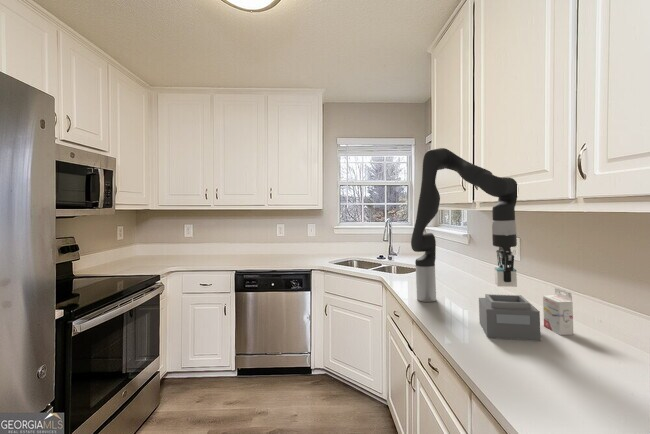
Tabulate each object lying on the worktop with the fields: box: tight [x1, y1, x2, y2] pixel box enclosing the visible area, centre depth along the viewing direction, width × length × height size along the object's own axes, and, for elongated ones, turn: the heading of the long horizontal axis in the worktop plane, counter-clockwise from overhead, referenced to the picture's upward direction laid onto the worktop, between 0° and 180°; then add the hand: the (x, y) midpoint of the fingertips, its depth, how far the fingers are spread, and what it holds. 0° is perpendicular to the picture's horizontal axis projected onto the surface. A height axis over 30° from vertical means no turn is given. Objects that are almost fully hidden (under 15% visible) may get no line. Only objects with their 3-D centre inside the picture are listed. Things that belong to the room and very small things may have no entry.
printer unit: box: [478, 293, 542, 342], centre depth 112 cm, size 15×16×12 cm
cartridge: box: [494, 267, 518, 288], centre depth 111 cm, size 4×6×6 cm, turn 73°
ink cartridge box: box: [542, 287, 574, 336], centre depth 111 cm, size 9×5×15 cm, turn 179°
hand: (505, 280), depth 111 cm, fingers closed on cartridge, 4 cm apart
